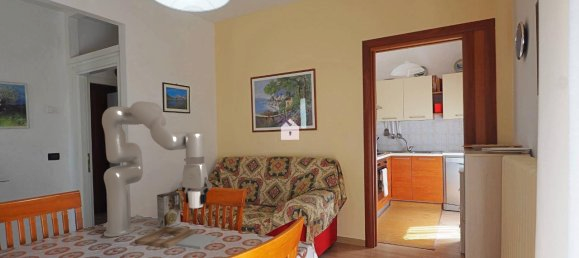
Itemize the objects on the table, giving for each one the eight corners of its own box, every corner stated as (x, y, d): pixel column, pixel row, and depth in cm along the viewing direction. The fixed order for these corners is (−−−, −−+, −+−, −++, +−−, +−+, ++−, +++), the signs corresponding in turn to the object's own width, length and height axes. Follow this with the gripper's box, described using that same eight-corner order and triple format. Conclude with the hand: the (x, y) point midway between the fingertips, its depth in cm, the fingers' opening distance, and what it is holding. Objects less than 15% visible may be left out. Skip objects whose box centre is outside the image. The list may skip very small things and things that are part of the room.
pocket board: (134, 243, 124) (134, 240, 124) (165, 229, 141) (165, 226, 141) (168, 248, 118) (168, 244, 118) (196, 233, 135) (196, 229, 135)
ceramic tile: (175, 245, 120) (175, 243, 120) (194, 235, 132) (194, 233, 132) (200, 248, 116) (200, 246, 116) (217, 237, 128) (217, 236, 128)
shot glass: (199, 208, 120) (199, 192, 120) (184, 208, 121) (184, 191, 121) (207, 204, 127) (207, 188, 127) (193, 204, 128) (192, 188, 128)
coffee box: (173, 221, 153) (173, 191, 153) (180, 223, 149) (180, 192, 149) (157, 226, 145) (156, 194, 146) (164, 229, 142) (163, 196, 142)
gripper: (172, 161, 123) (173, 203, 123) (207, 162, 118) (208, 206, 118) (184, 160, 131) (185, 199, 130) (217, 160, 125) (218, 201, 125)
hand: (196, 202), depth 124 cm, fingers closed on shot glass, 6 cm apart
